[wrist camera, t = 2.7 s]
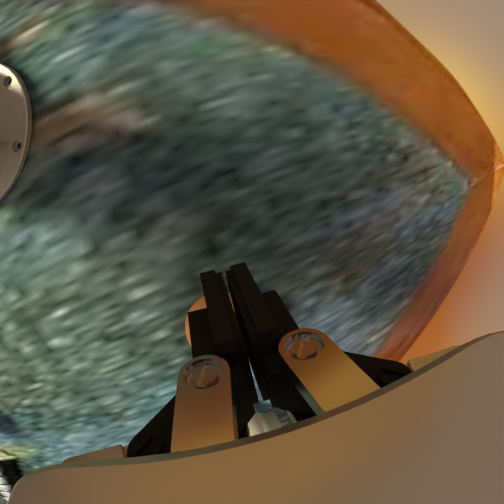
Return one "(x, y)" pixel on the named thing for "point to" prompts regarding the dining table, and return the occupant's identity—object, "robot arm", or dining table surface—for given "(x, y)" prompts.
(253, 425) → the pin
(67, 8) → the dining table surface
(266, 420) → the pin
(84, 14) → the dining table surface
